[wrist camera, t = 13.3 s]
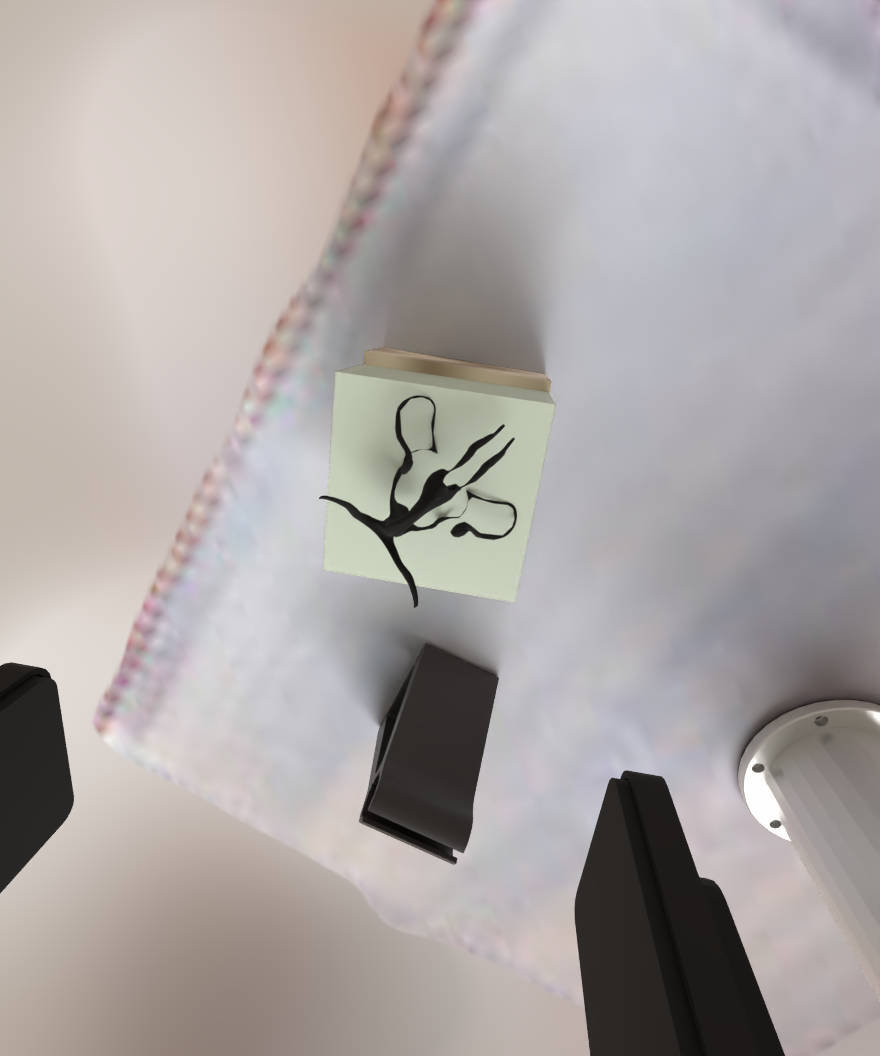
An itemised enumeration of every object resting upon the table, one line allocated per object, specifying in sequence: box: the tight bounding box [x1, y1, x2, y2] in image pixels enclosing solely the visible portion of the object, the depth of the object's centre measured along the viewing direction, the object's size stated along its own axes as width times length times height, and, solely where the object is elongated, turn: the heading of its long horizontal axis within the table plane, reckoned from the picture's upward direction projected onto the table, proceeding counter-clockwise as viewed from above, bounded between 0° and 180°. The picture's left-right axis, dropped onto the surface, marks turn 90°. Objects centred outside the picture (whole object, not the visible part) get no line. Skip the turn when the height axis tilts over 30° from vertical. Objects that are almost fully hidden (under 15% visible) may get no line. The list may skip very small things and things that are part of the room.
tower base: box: [364, 348, 551, 393], centre depth 33 cm, size 10×10×5 cm
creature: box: [319, 395, 517, 608], centre depth 24 cm, size 8×5×8 cm
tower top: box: [323, 364, 555, 603], centre depth 29 cm, size 10×10×5 cm
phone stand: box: [359, 643, 499, 865], centre depth 37 cm, size 9×6×12 cm, turn 155°
